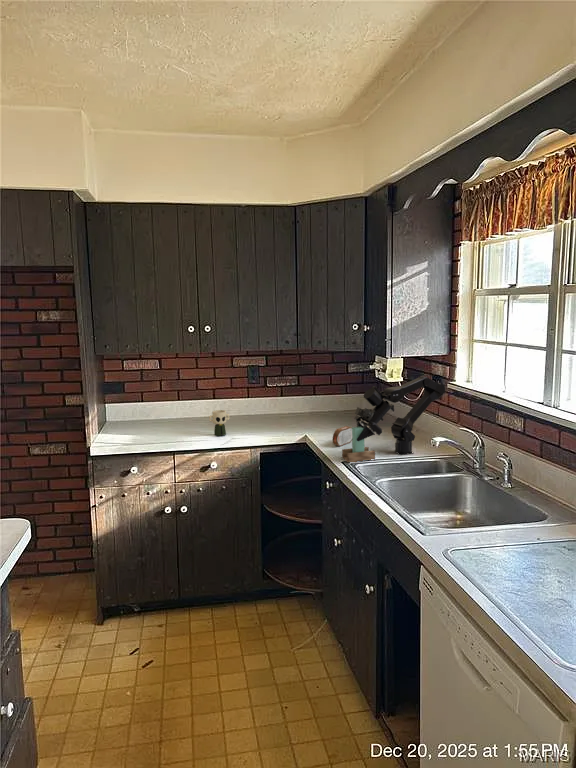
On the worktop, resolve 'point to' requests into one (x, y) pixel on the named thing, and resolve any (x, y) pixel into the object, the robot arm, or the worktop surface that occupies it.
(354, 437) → the block
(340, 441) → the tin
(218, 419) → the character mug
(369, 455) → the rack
